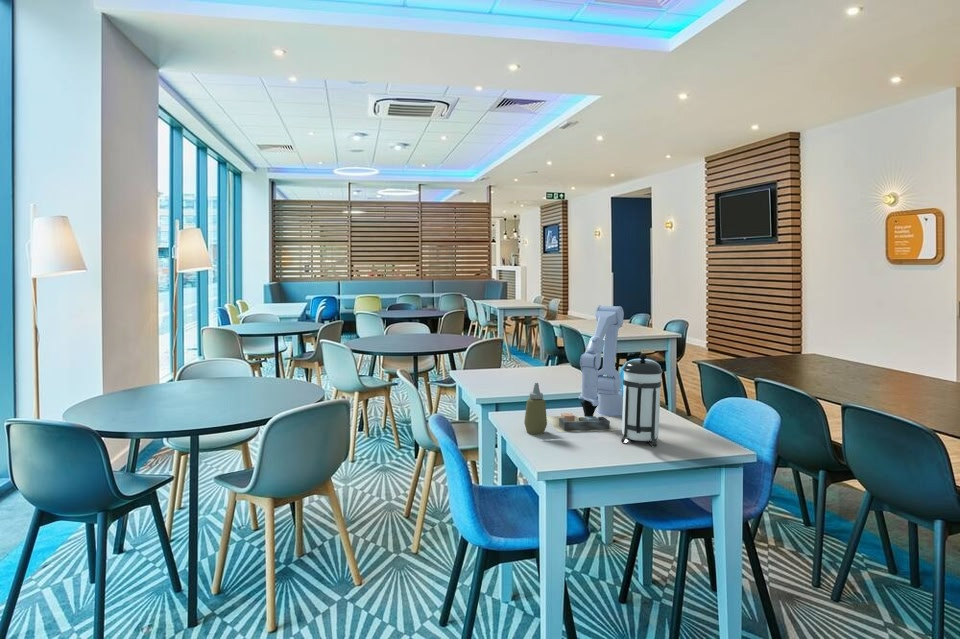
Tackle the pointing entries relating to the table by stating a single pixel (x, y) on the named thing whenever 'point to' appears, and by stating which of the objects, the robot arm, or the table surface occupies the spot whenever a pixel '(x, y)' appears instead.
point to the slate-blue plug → (591, 418)
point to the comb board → (580, 424)
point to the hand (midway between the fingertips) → (588, 420)
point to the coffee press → (641, 400)
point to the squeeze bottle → (535, 412)
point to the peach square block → (568, 416)
